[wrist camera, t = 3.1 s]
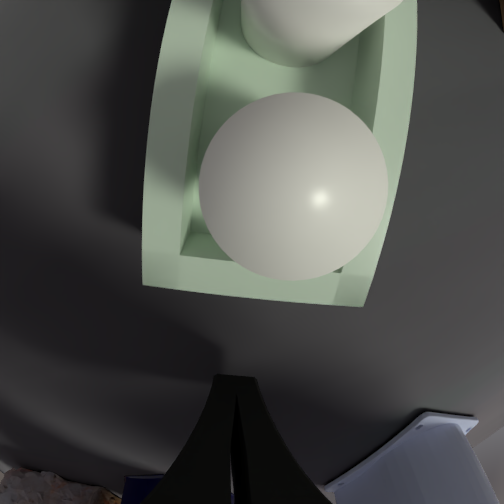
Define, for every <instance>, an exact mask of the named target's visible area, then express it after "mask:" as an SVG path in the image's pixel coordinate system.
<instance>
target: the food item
mask: <svg viewBox="0 0 504 504" xmlns="http://www.w3.org/2000/svg"><path fill="white" fill-rule="evenodd" d="M0 504H121V499H120V498H118V497H117V496H115V495H113V494H111V492H110V491H109V490H108V489H106V488H105V487H99V486H90V485H86V484H82V483H77V482H72V481H67V480H65V479H63V478H61V477H60V476H58V475H57V474H55V473H53V472H50V471H48V472H44V471H42V472H41V473H39V472H36V471H32V470H28V469H25V468H23V467H21V468H19V469H17V470H15V469H14V468H12V469H11V470H9V471H7V472H6V473H5V474H4V478H3V480H2V481H1V484H0Z"/></svg>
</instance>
